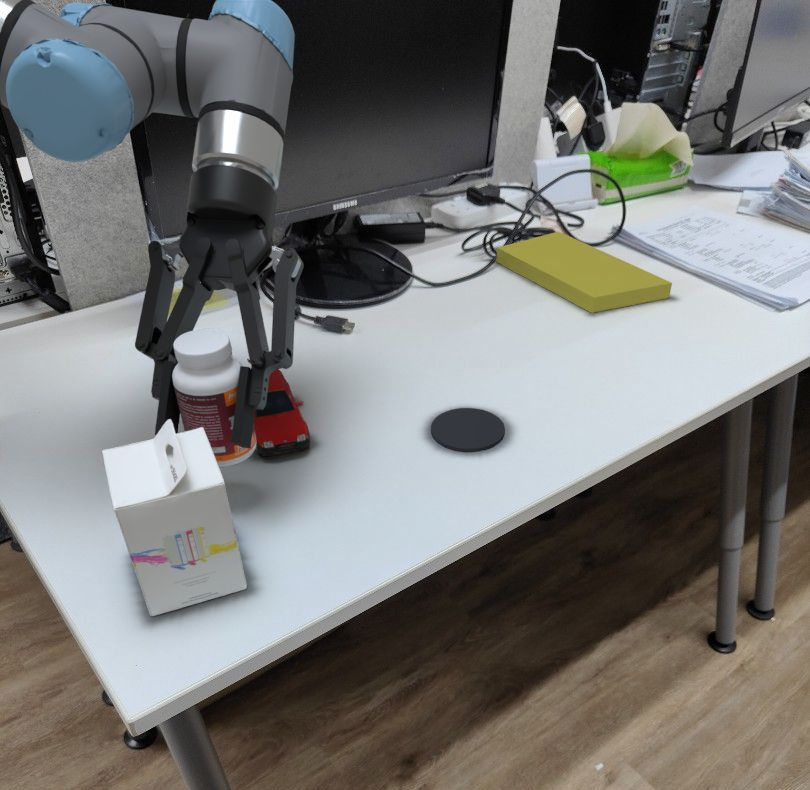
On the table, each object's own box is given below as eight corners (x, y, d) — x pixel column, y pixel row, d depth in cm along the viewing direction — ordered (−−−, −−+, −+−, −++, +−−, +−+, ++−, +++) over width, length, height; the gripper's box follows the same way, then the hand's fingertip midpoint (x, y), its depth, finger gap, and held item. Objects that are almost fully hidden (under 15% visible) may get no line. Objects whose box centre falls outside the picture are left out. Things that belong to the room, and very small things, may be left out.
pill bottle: (250, 470, 68) (228, 359, 61) (182, 469, 69) (153, 358, 62) (264, 432, 73) (245, 324, 66) (201, 430, 73) (175, 324, 66)
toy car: (257, 467, 78) (250, 426, 75) (235, 398, 89) (227, 360, 85) (318, 454, 80) (313, 413, 77) (289, 388, 90) (283, 350, 87)
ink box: (134, 555, 69) (91, 429, 60) (226, 529, 71) (198, 405, 62) (150, 619, 63) (105, 491, 54) (249, 589, 65) (222, 462, 56)
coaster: (417, 423, 84) (417, 420, 84) (477, 403, 87) (477, 400, 87) (456, 460, 79) (456, 456, 78) (519, 437, 82) (519, 434, 81)
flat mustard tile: (496, 261, 118) (603, 319, 102) (497, 247, 116) (606, 303, 101) (557, 245, 122) (668, 298, 107) (558, 231, 121) (672, 282, 105)
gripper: (349, 208, 70) (320, 458, 68) (153, 201, 72) (122, 441, 71) (330, 163, 62) (297, 442, 61) (112, 156, 65) (76, 423, 64)
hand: (203, 441), depth 66 cm, fingers closed on pill bottle, 6 cm apart
